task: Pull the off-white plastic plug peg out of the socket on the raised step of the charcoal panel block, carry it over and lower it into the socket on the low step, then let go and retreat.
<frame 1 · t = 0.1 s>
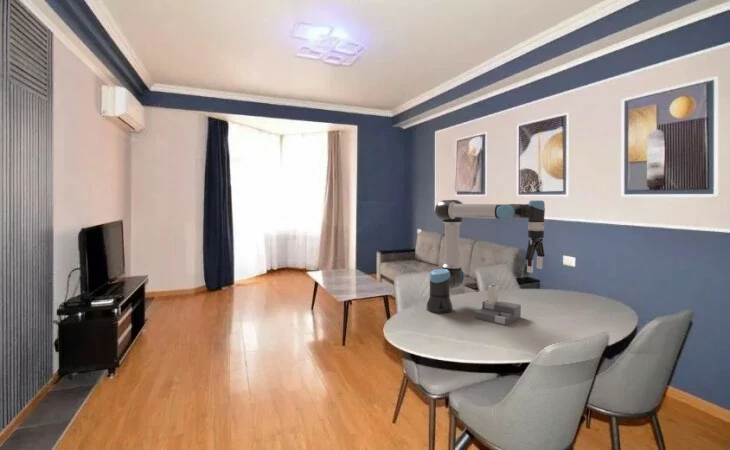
hand: (534, 270, 196), 28 cm above the table, fingers open, 13 cm apart
plug: (492, 306, 212), point 4 cm above the table, touching panel
panel: (497, 317, 205), on the table
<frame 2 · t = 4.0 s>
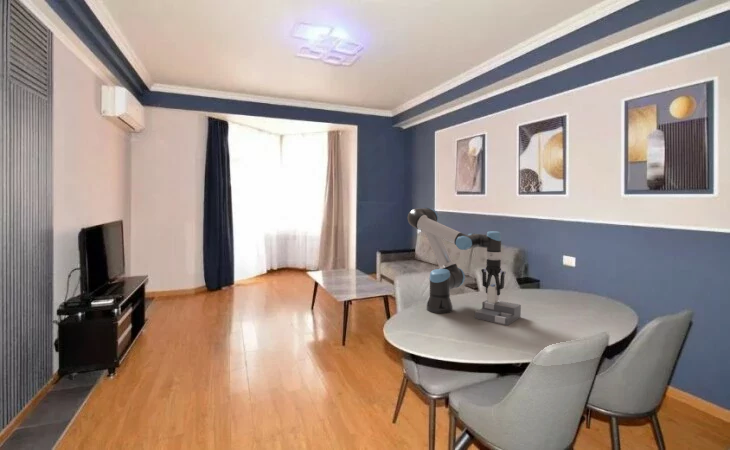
hand: (492, 299, 211), 8 cm above the table, fingers closed on plug, 4 cm apart
plug: (492, 306, 212), point 4 cm above the table, touching gripper, panel
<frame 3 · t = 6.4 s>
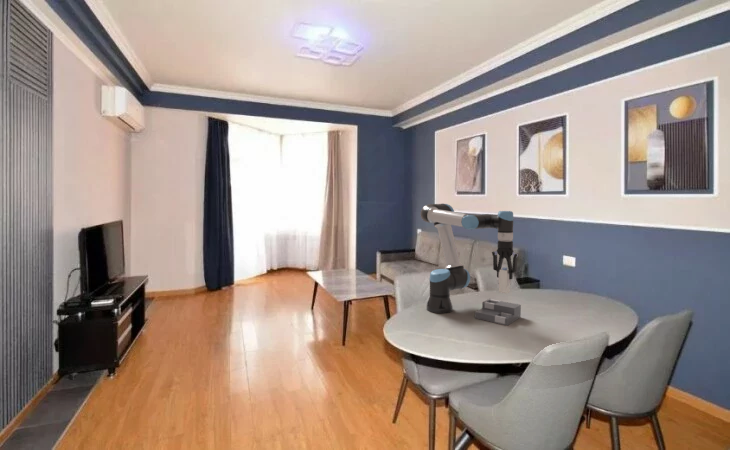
hand: (504, 284, 197), 20 cm above the table, fingers closed on plug, 4 cm apart
plug: (504, 292, 197), point 16 cm above the table, touching gripper
when the fingers open (6 cm above the table, at t = 8.9 s): plug drops 1 cm, resting on panel.
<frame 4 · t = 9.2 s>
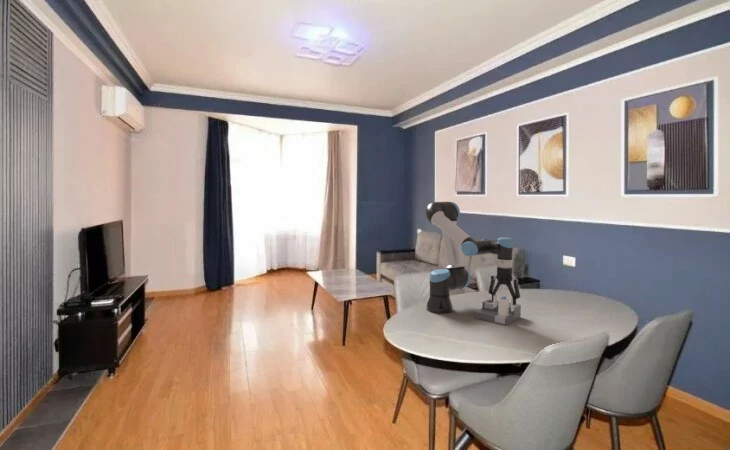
hand: (503, 308, 198), 7 cm above the table, fingers open, 9 cm apart
plug: (503, 320, 199), resting on panel
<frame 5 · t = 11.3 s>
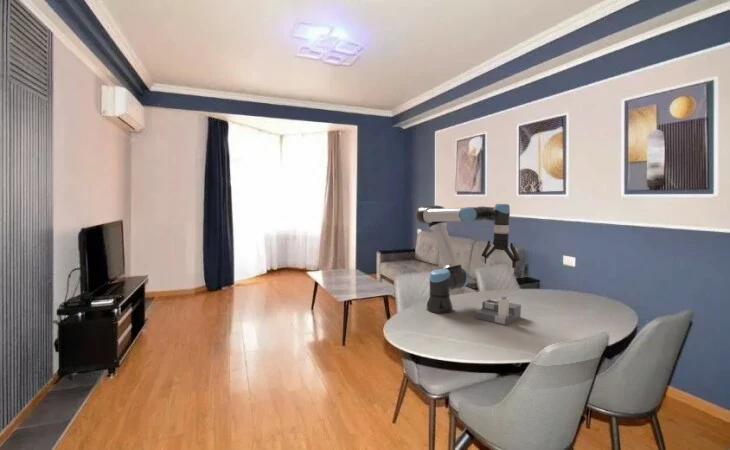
hand: (499, 271, 202), 26 cm above the table, fingers open, 13 cm apart
nothing on the table moved.
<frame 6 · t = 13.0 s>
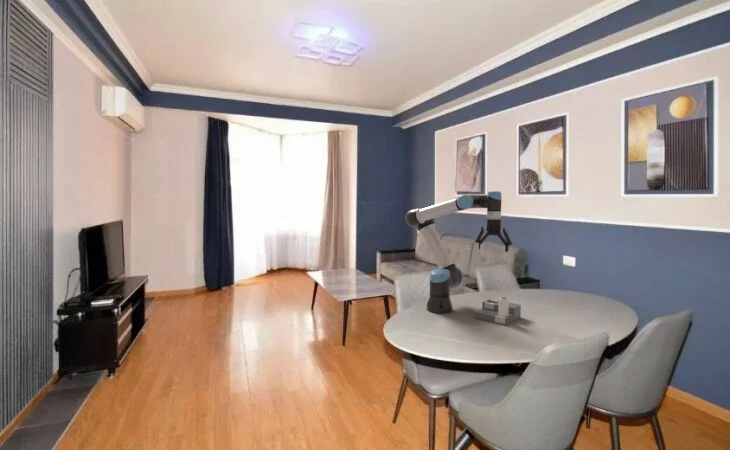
hand: (493, 256, 211), 33 cm above the table, fingers open, 13 cm apart
nothing on the table moved.
at the end: plug 0.0 cm from the target spot on the panel, point 0.5 cm above the panel's base; plug tilted 0°; the gripper is holding nothing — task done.
